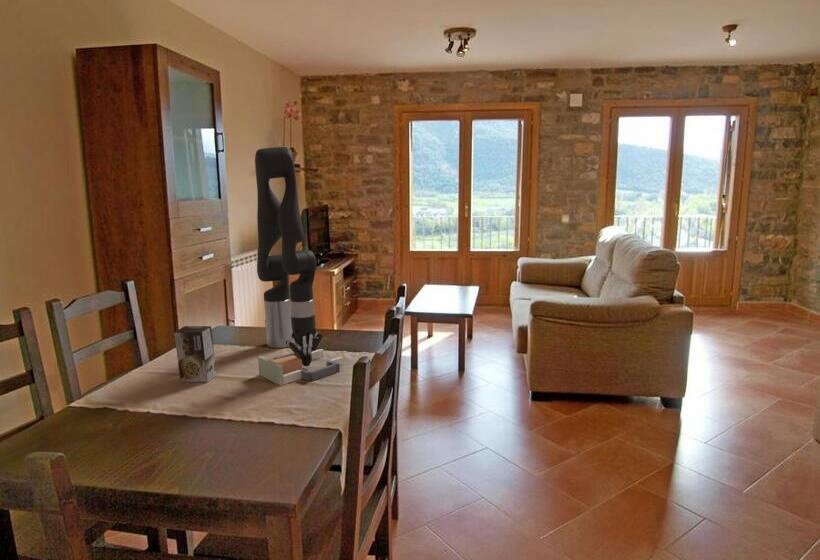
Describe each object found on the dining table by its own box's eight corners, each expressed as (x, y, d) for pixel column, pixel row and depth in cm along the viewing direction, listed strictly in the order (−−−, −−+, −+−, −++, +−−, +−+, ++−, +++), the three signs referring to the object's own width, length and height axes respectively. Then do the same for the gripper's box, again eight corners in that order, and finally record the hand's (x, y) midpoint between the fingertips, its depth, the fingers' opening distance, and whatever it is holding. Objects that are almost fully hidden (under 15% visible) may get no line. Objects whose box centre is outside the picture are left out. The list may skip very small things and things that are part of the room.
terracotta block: (271, 374, 168) (270, 360, 167) (294, 368, 173) (293, 354, 172) (278, 379, 164) (277, 365, 163) (302, 373, 168) (301, 359, 167)
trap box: (253, 371, 170) (251, 354, 168) (315, 353, 186) (314, 336, 185) (287, 389, 155) (286, 369, 154) (351, 367, 171) (350, 349, 170)
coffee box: (217, 374, 168) (212, 325, 165) (207, 382, 162) (202, 331, 158) (189, 374, 169) (184, 325, 166) (179, 382, 163) (173, 331, 159)
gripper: (313, 307, 175) (316, 357, 178) (278, 315, 166) (282, 368, 169) (326, 311, 170) (329, 362, 173) (291, 320, 161) (295, 374, 164)
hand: (306, 365), depth 171 cm, fingers closed
